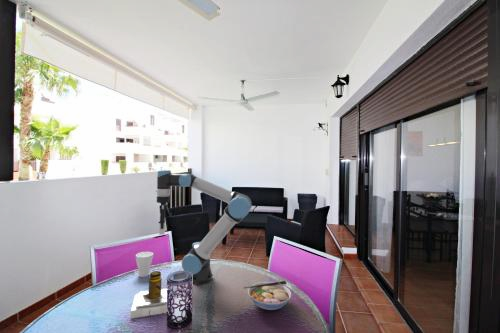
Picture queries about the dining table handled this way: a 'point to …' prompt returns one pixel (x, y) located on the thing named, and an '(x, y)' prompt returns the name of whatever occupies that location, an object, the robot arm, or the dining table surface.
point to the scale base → (146, 309)
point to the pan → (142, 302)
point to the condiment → (154, 287)
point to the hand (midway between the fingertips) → (162, 231)
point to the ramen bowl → (269, 294)
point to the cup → (144, 263)
